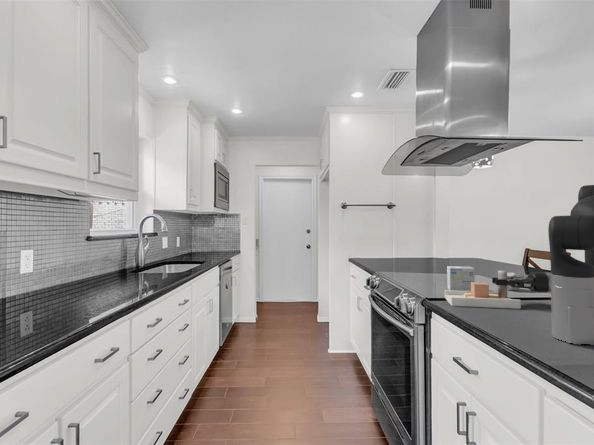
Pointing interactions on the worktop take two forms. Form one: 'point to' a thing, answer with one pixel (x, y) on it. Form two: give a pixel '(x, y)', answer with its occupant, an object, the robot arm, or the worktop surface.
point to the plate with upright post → (501, 288)
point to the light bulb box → (460, 277)
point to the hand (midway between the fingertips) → (494, 281)
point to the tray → (480, 300)
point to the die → (510, 286)
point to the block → (480, 289)
